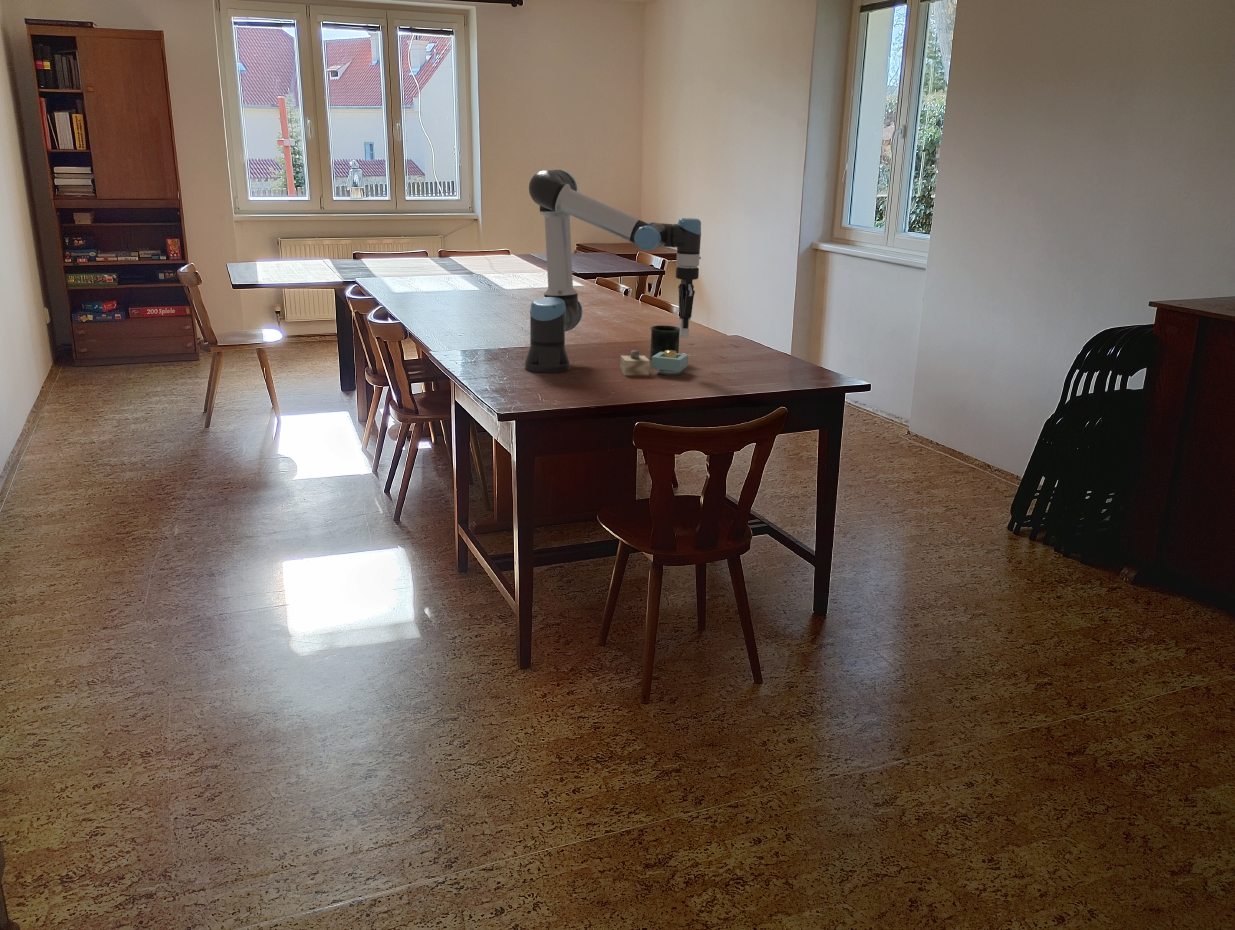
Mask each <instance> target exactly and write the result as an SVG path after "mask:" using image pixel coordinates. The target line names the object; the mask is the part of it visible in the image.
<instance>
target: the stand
mask: <svg viewBox="0 0 1235 930" xmlns="http://www.w3.org/2000/svg"><path fill="white" fill-rule="evenodd" d="M619 360H620V362H619V363H620V366H619V370H620V371H621V373H622V374H623V375H624V376H650V366H651V365H650V363H651V359H650V358H647V356H646V355H640V350H638V349H635V350H631V351H630V355H620V359H619Z"/></svg>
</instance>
